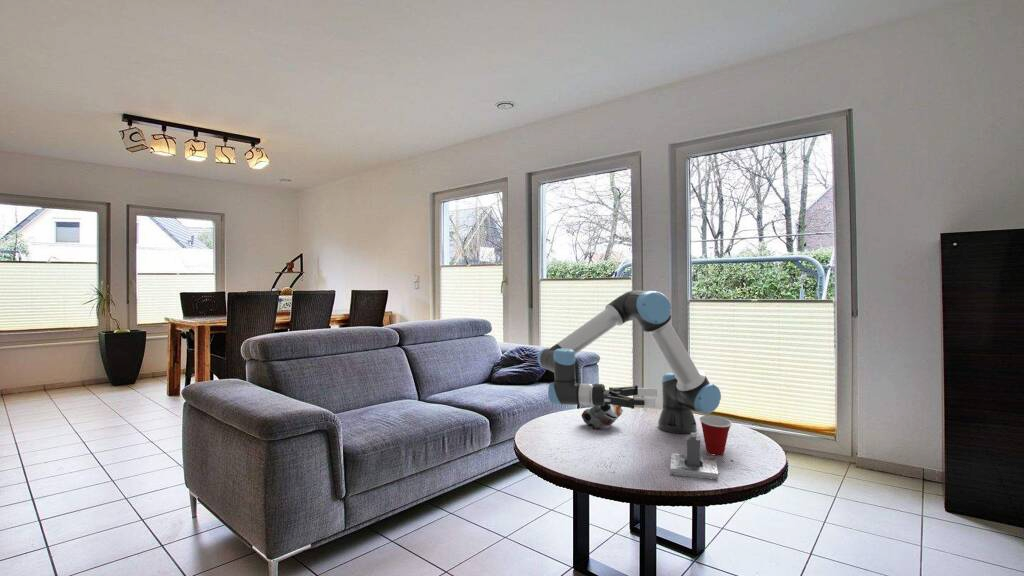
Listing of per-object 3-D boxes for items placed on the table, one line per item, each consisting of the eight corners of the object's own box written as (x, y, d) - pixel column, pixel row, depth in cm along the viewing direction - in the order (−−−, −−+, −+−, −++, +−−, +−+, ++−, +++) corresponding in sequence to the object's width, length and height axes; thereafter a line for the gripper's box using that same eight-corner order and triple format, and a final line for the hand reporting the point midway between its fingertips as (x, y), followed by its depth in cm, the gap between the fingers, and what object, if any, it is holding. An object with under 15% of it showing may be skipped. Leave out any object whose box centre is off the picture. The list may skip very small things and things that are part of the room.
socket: (671, 459, 174) (671, 452, 174) (715, 464, 170) (715, 456, 170) (670, 474, 161) (670, 466, 161) (718, 479, 156) (718, 471, 156)
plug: (686, 465, 168) (686, 431, 168) (699, 466, 167) (699, 432, 166) (686, 469, 164) (686, 434, 164) (700, 471, 163) (700, 435, 163)
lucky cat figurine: (606, 420, 222) (620, 394, 218) (616, 438, 212) (631, 412, 207) (576, 413, 218) (590, 387, 213) (585, 431, 207) (599, 404, 203)
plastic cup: (717, 460, 173) (717, 425, 173) (692, 450, 183) (692, 417, 182) (739, 455, 178) (739, 421, 178) (714, 446, 188) (714, 414, 187)
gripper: (598, 396, 188) (657, 399, 181) (587, 415, 164) (654, 419, 157) (598, 376, 188) (657, 378, 181) (586, 392, 164) (654, 395, 157)
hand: (656, 397), depth 169 cm, fingers open, 13 cm apart
